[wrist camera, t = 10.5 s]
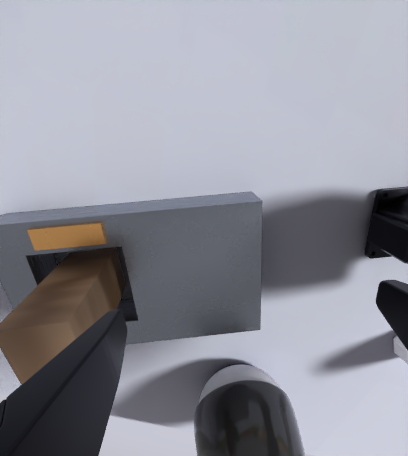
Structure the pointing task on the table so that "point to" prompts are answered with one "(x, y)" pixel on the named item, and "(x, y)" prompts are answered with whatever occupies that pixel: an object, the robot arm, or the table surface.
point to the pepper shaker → (400, 349)
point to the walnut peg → (61, 309)
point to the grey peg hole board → (153, 259)
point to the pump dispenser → (245, 416)
